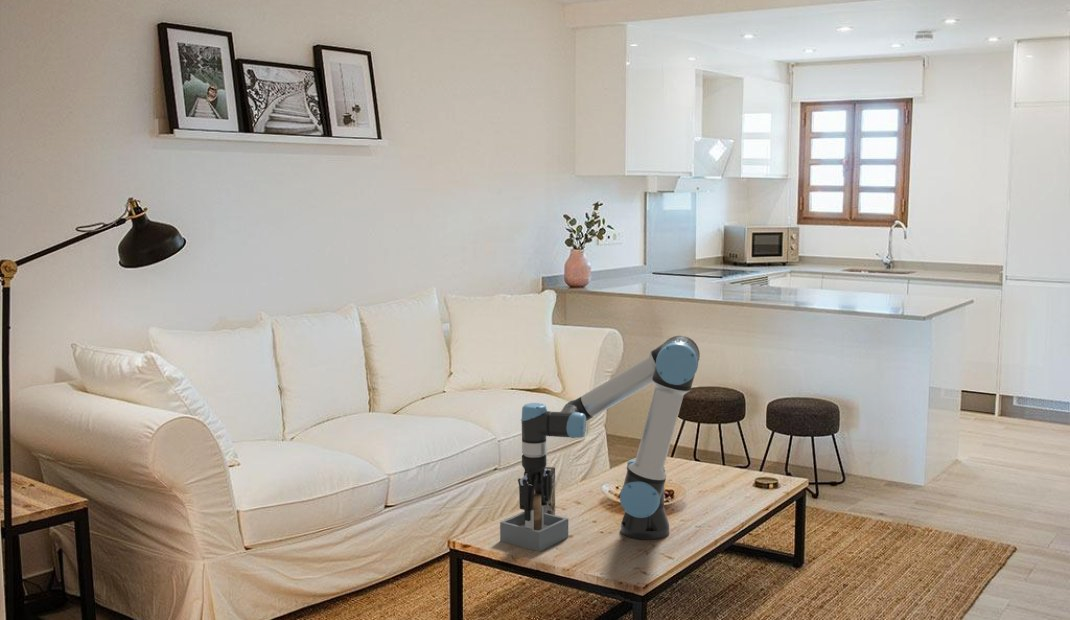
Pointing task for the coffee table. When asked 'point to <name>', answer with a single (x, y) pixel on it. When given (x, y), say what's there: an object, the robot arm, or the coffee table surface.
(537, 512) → the peg
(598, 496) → the coffee table surface
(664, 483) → the robot arm
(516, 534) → the bin
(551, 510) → the coffee box
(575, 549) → the coffee table surface
